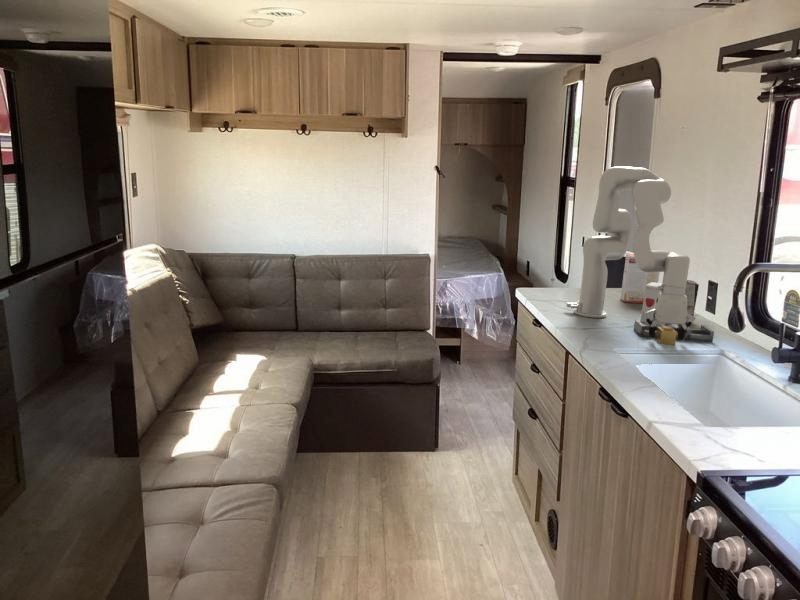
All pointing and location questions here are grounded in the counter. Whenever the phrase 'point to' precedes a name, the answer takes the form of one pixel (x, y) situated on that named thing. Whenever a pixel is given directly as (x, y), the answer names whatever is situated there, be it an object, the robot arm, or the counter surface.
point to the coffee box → (691, 296)
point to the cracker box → (635, 281)
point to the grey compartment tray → (690, 334)
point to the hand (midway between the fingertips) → (665, 338)
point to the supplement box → (650, 299)
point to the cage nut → (665, 335)
